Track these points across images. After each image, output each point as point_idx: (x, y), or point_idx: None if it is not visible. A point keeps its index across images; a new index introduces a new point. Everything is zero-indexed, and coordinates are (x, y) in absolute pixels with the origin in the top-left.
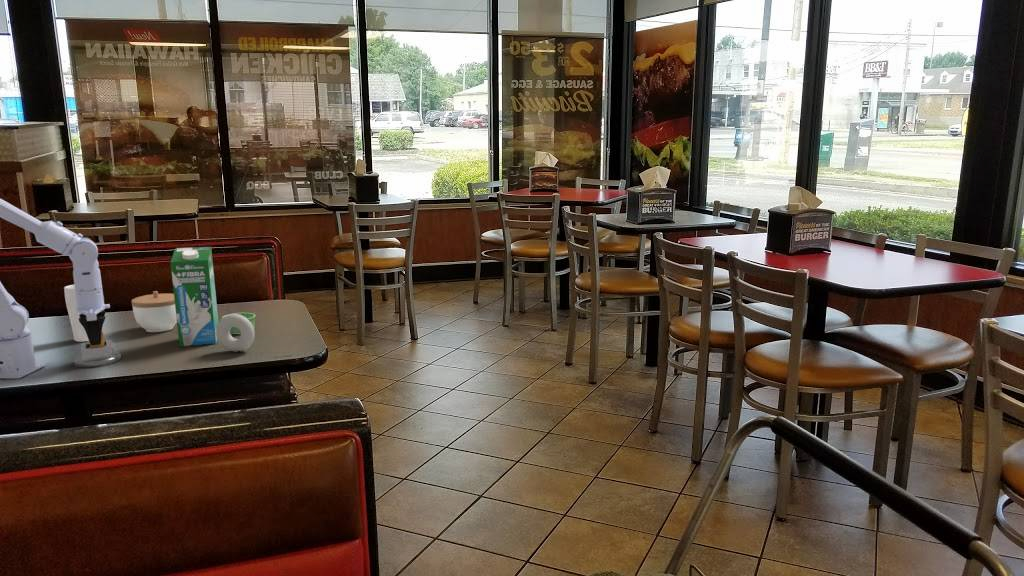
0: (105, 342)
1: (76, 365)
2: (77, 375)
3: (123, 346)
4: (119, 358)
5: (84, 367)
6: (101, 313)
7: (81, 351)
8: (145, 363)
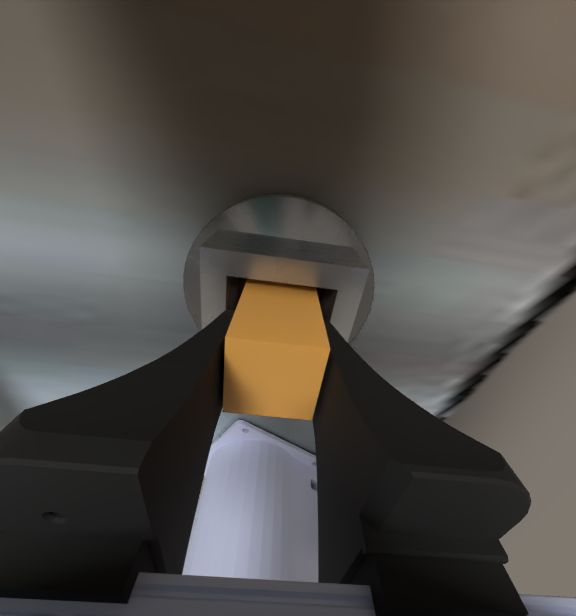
0: (227, 277)
1: None
2: (416, 363)
3: (39, 136)
4: (329, 209)
5: None
6: (155, 485)
7: None
8: (500, 87)
